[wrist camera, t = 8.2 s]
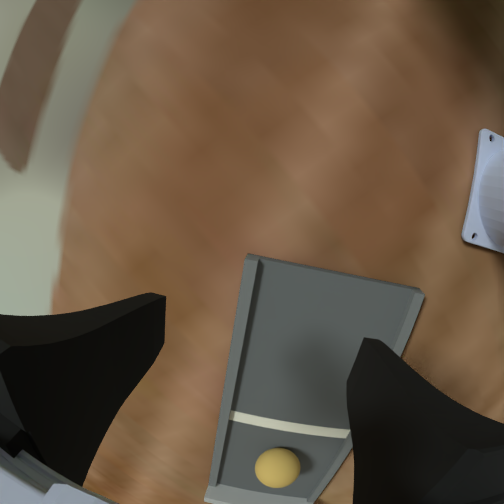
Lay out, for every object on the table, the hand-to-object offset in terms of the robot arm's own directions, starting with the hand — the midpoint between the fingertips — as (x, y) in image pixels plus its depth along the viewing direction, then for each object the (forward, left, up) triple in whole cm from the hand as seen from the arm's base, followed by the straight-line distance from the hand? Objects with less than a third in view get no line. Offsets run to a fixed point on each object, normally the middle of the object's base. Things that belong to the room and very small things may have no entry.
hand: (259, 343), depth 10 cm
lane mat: (-4, +14, -10) cm, 18 cm away
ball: (-4, +18, -7) cm, 20 cm away
